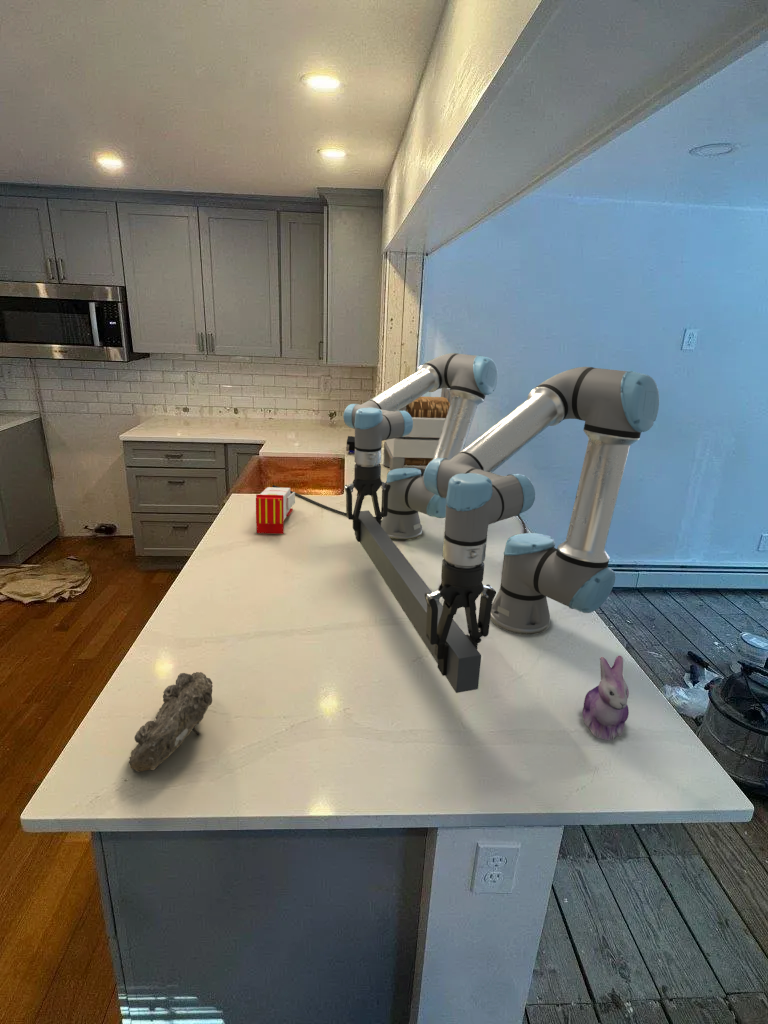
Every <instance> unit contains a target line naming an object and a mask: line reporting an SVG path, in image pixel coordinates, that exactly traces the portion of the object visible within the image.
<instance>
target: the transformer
mask: <svg viewBox="0 0 768 1024" xmlns="http://www.w3.org/2000/svg"><path fill="white" fill-rule="evenodd" d="M440 393H441V394H440V396H421V397H419V398H417V399H416V400H414V401H413V402H411V403H409V404H408V405H406V406H405V407H403V408H401V409H400V410H399V411H406V412H408V413H409V414H410V415H411V417H412V419H413V428H412V431H411V432H410V433H409V434H408V435H405V436H402V437H400V438H399V437H398V438H393V439H388V440H384V441H383V466H384V467H388V468H389V471H391V470H394V469H399V468H405V466H406V467H407V466H411V467H412V466H413V467H415V466H416V467H417V466H418V467H427V465H428V464H429V462H430V461H432V460H433V457H434V454H435V451H436V447H437V444H438V441H439V438H440V435H441V432H442V429H443V426H444V422H445V419H446V416H447V413H448V410H449V407H450V404H451V401H452V396H451V394H450V388H441V392H440Z"/></svg>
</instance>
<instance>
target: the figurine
mask: <svg viewBox="0 0 768 1024" xmlns="http://www.w3.org/2000/svg"><path fill="white" fill-rule="evenodd" d="M599 666H600V667H599V669H600V681H599V684H598V685H597V686H595V687H593V688H592V689H590V690H589V691H588V692H586V694H585V697H584V701H583V708H582V714H581V715H582V719H583V722H584V725H585V726H586V727H587V728H588V729H589V731H590V732H591V734H592V735H593V736H594V737H596V738H598V739H601V740H606V741H614V739H616V737H620V736H622V734H623V732H624V728H625V725H626V722H627V721H628V718H629V713H630V709H629V705H628V699H629V695H630V691H629V686H628V683H627V682H626V680H625V678H624V658H623V656H622V655H621V654H620V655H617V656H616V658H615V659H614V662H613V664H612V666H611V665H610V664H609V662H608V660H607V659H606V658H605V656H600V657H599Z"/></svg>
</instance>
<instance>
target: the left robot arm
mask: <svg viewBox="0 0 768 1024" xmlns="http://www.w3.org/2000/svg"><path fill="white" fill-rule="evenodd" d="M498 382H499V371H498V367H497V364H496V362H495V360H493V359H492V358H491V357H488V356H482V355H481V354H478V355H475V354H465V353H459V352H458V353H456V352H452V353H451V352H450V353H444V354H442V355H440V356H437V357H435V358H432V359H430V360H429V361H427V362H425V363H423V364H421V365H420V366H418V368H417V369H416V371H415V372H414V373H413V374H410V375H409V376H407V377H405V378H404V379H402V380H400V381H398V382H397V383H395V384H394V385H392V386H391V387H388V388H387V389H385V390H384V391H382V392H380V393H378V394H377V395H375V396H374V397H371V398H370V399H368V400H366V401H365V402H363V403H361V404H359V403H351V404H348V405H347V406H346V408H345V409H344V411H343V415H342V416H343V423H344V424H345V425H346V427H348V428H351V429H354V437H355V454H354V463H355V464H354V472H353V473H354V475H353V477H354V479H353V481H352V483H350V484H348V485H347V484H345V485H344V486H343V488H344V489H343V490H344V491H345V496H346V497H345V512H344V511H340V510H338V509H335V508H333V507H330V506H327V505H325V504H323V503H320V502H318V501H315V500H313V499H311V498H310V497H306V496H304V495H302V494H300V493H297V492H295V497H299V498H301V499H303V500H306V501H307V502H310V503H312V504H315V505H317V506H319V507H321V508H324V509H326V510H329V511H332V512H334V513H337V514H340V515H343V516H346V517H347V519H348V520H351V521H352V530H353V531H354V532H355V531H356V536H355V540H356V541H357V543H360V537H361V521H360V520H359V514H360V511H362V510H361V509H362V507H363V506H362V505H363V502H364V500H365V497H366V496H370V497H371V502H372V506H373V511H374V516H373V517H374V518H375V519H376V520H377V522H378V523H379V524H380V526H381V527H382V528H383V529H384V531H385V532H386V533H387V535H388V536H389V537H390V538H391V540H395V541H410V540H415V539H418V538H420V537H421V536H422V535H423V525H422V524H421V518H420V515H419V513H421V514H424V515H427V516H428V517H432V518H436V519H445V517H446V498H441V497H440V496H438V495H436V494H434V493H432V492H430V491H428V490H427V488H426V487H425V485H424V479H423V477H424V472H423V473H422V470H421V469H420V468H416V467H404V468H399V469H394V470H391V471H390V470H388V472H387V475H386V480H385V482H384V481H382V478H381V477H382V465H381V463H382V448H383V447H382V444H383V442H385V440H388V439H393V438H398V437H399V438H400V437H402V436H405V435H408V434H409V433H410V432H411V431H412V428H413V419H412V417H411V415H410V414H409V413H408V412H406V411H399V410H400V409H401V408H403V407H405V406H406V405H408V404H409V403H411V402H413V401H414V400H416V399H417V398H419V397H423V396H424V395H425V394H427V393H434V392H436V391H438V390H440V389H441V390H442V388H447V389H450V394H451V396H452V401H451V404H450V407H449V410H448V413H447V416H446V419H445V422H444V426H443V429H442V432H441V435H440V438H439V441H438V444H437V447H436V451H435V454H434V457H433V459H435V458H447V459H448V460H450V459H452V458H453V457H454V456H455V455H457V454H458V453H459V452H461V451H462V450H463V449H464V448H465V447H466V446H465V445H466V442H467V439H468V437H469V433H470V430H471V427H472V424H473V420H474V417H475V414H476V411H477V408H478V406H479V405H481V404H482V403H484V401H485V399H486V396H490V395H492V394H493V393H494V392H495V391H496V389H497V386H498ZM271 486H272V487H276V488H282V487H280V486H277V485H274V484H273V485H271ZM380 488H381V504H380V503H379V499H378V493H377V492H378V491H379V489H380ZM354 489H355V490H356V491H357V494H356V499H355V503H354V508H353V492H354ZM293 492H294V491H292V490H290V495H291V494H292V493H293ZM380 505H381V508H380Z"/></svg>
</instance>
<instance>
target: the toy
mask: <svg viewBox="0 0 768 1024" xmlns="http://www.w3.org/2000/svg"><path fill="white" fill-rule="evenodd" d="M290 491H291V487H281V488H276V487H270V486H268V487H266V488H265V489H264V490H262V491H261V492H260V494H256V495H255V523H256V534H270V535H271V534H274V535H283V534H284V533H285V532H284V531H285V530H284V528H285V527H284V525H285V524H284V521H285V520H286V518H287V517H289V516H290V515H291V513H292V512H293V508H292V507H293V506H294V505H295V504H296V495H295V493H296V492H295V491H292V492H293V493H292V494H291V493H290Z"/></svg>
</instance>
